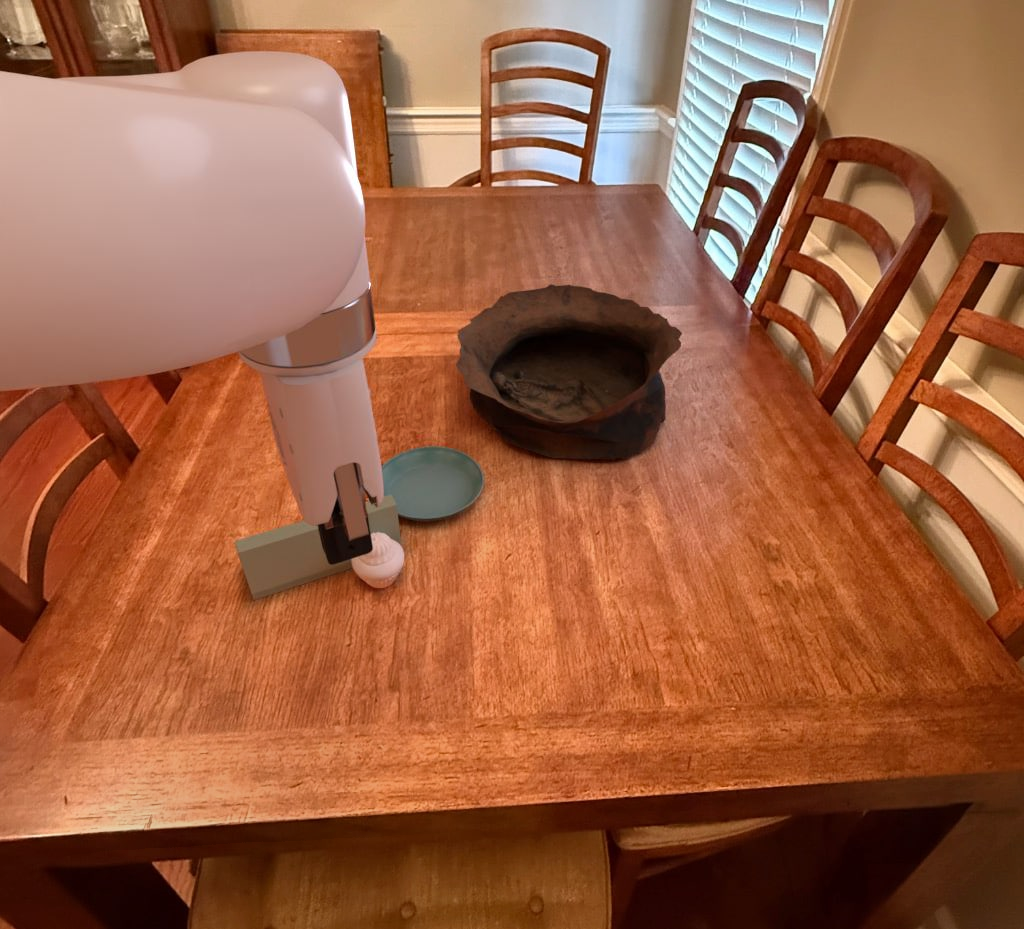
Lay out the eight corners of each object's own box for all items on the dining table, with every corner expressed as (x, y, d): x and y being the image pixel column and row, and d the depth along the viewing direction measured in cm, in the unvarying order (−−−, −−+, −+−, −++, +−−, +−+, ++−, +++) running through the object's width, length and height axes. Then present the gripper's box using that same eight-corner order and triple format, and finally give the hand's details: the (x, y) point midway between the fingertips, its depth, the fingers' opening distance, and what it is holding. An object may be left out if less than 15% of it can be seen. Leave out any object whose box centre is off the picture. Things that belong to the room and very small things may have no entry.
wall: (253, 600, 80) (237, 552, 75) (245, 571, 83) (229, 523, 78) (402, 551, 86) (396, 504, 81) (389, 526, 90) (383, 479, 85)
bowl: (663, 500, 97) (675, 418, 86) (436, 473, 103) (422, 393, 93) (676, 358, 121) (686, 280, 110) (491, 343, 127) (484, 268, 117)
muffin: (382, 551, 86) (376, 510, 82) (417, 575, 83) (413, 534, 79) (344, 581, 82) (335, 540, 78) (379, 607, 79) (373, 565, 75)
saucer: (396, 454, 101) (394, 439, 99) (494, 468, 99) (494, 453, 97) (359, 523, 90) (356, 508, 88) (469, 540, 88) (469, 525, 86)
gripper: (211, 276, 42) (273, 502, 53) (260, 405, 31) (323, 650, 43) (335, 255, 44) (367, 475, 56) (417, 368, 34) (436, 608, 46)
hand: (348, 550), depth 49 cm, fingers closed
